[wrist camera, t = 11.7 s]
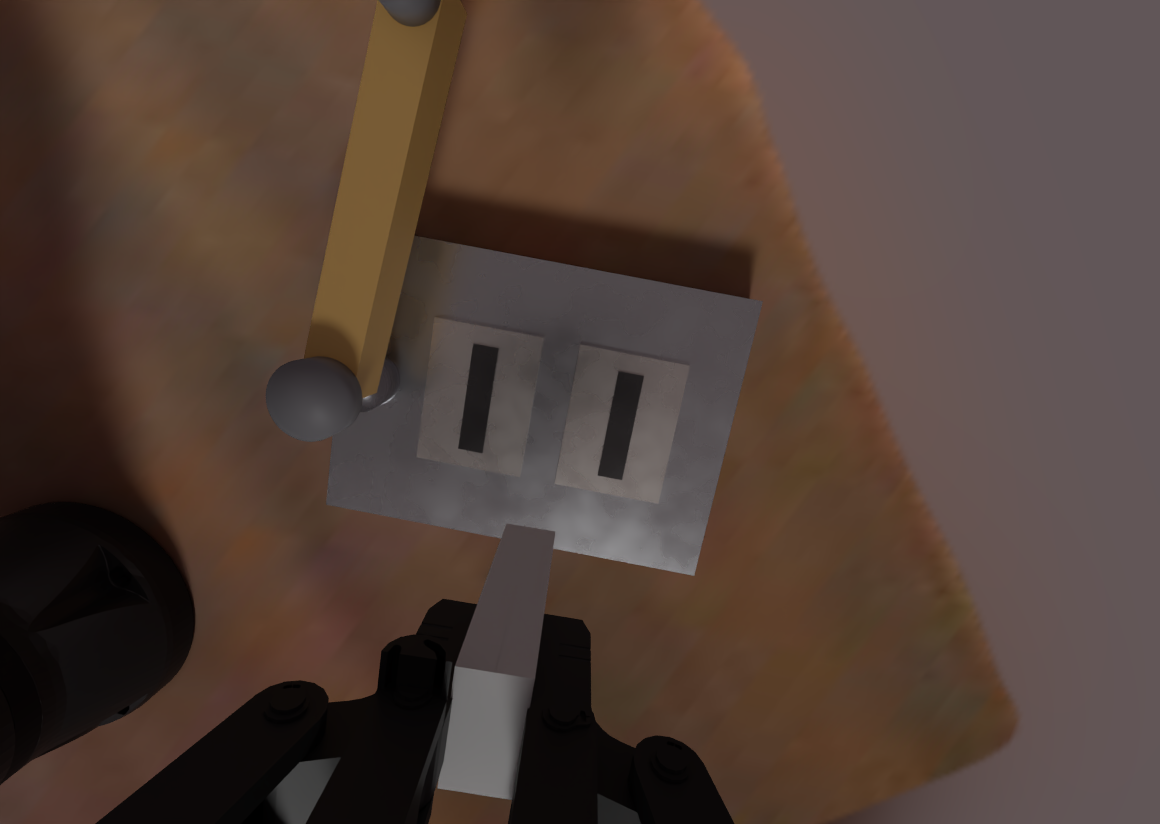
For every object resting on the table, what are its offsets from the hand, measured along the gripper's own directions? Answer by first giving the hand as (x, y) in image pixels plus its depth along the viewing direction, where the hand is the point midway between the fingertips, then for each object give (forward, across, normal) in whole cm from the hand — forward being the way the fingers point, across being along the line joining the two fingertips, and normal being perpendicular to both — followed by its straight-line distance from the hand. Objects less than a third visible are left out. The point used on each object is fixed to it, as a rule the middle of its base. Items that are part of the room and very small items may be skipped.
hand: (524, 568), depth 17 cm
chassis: (+17, -1, +2) cm, 17 cm away
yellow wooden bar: (+12, -9, +10) cm, 18 cm away
